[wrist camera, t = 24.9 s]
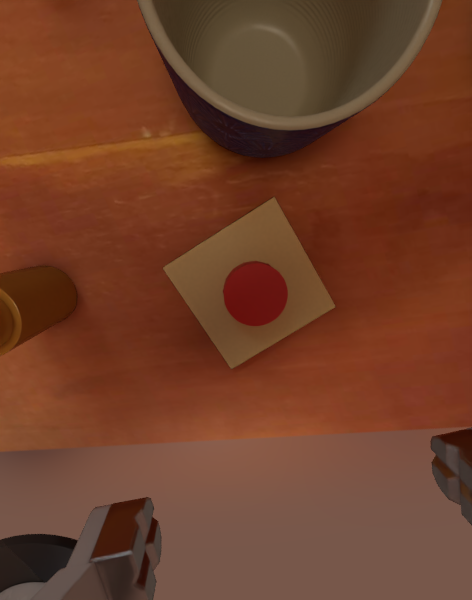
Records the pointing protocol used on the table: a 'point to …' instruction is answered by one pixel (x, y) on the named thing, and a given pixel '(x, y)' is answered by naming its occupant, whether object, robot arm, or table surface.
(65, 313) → the jar
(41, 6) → the table surface
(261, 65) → the planter
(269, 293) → the red lid
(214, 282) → the cork mat
